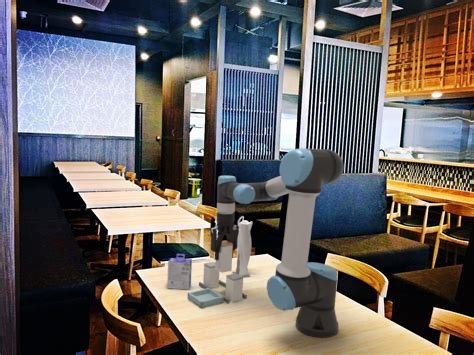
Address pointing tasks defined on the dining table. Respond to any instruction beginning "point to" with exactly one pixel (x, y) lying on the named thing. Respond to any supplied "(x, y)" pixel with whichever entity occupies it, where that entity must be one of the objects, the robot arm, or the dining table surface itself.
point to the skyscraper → (243, 248)
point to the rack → (232, 283)
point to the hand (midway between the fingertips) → (223, 265)
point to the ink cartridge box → (179, 272)
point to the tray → (205, 297)
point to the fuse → (225, 257)
